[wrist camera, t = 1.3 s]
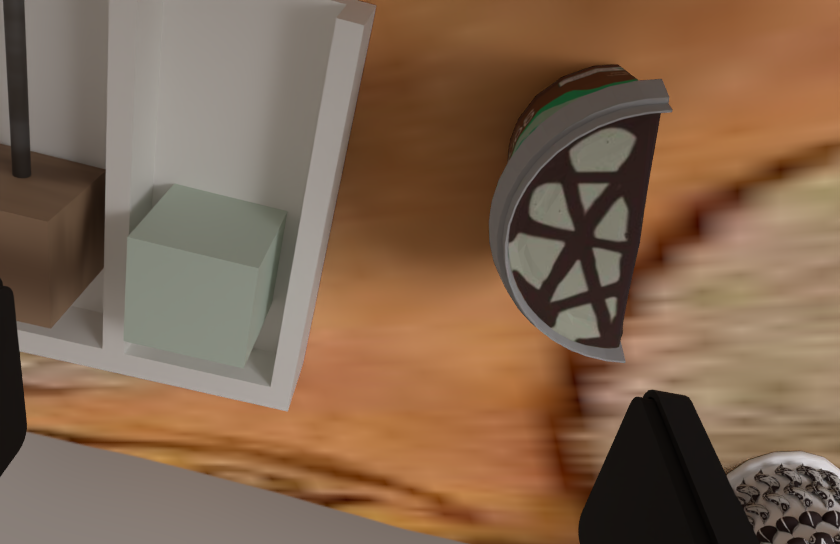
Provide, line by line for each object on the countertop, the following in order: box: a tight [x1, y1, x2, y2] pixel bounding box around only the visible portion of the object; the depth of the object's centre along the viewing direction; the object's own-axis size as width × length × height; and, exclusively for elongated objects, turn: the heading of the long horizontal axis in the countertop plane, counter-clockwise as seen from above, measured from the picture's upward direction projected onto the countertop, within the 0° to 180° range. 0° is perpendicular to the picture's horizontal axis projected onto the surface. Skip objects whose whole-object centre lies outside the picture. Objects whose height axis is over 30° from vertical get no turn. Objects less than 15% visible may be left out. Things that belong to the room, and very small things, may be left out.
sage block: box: [123, 184, 287, 368], centre depth 36 cm, size 6×6×6 cm
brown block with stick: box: [0, 0, 106, 329], centre depth 31 cm, size 24×6×6 cm, turn 166°
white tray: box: [0, 0, 376, 411], centre depth 37 cm, size 22×20×4 cm
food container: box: [489, 64, 672, 363], centre depth 33 cm, size 12×6×10 cm, turn 0°
